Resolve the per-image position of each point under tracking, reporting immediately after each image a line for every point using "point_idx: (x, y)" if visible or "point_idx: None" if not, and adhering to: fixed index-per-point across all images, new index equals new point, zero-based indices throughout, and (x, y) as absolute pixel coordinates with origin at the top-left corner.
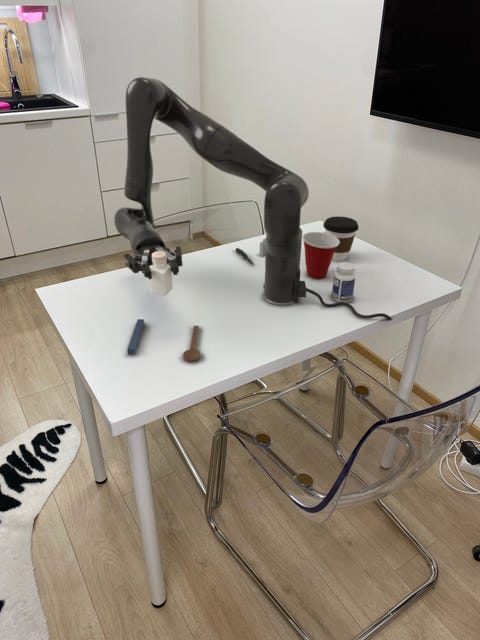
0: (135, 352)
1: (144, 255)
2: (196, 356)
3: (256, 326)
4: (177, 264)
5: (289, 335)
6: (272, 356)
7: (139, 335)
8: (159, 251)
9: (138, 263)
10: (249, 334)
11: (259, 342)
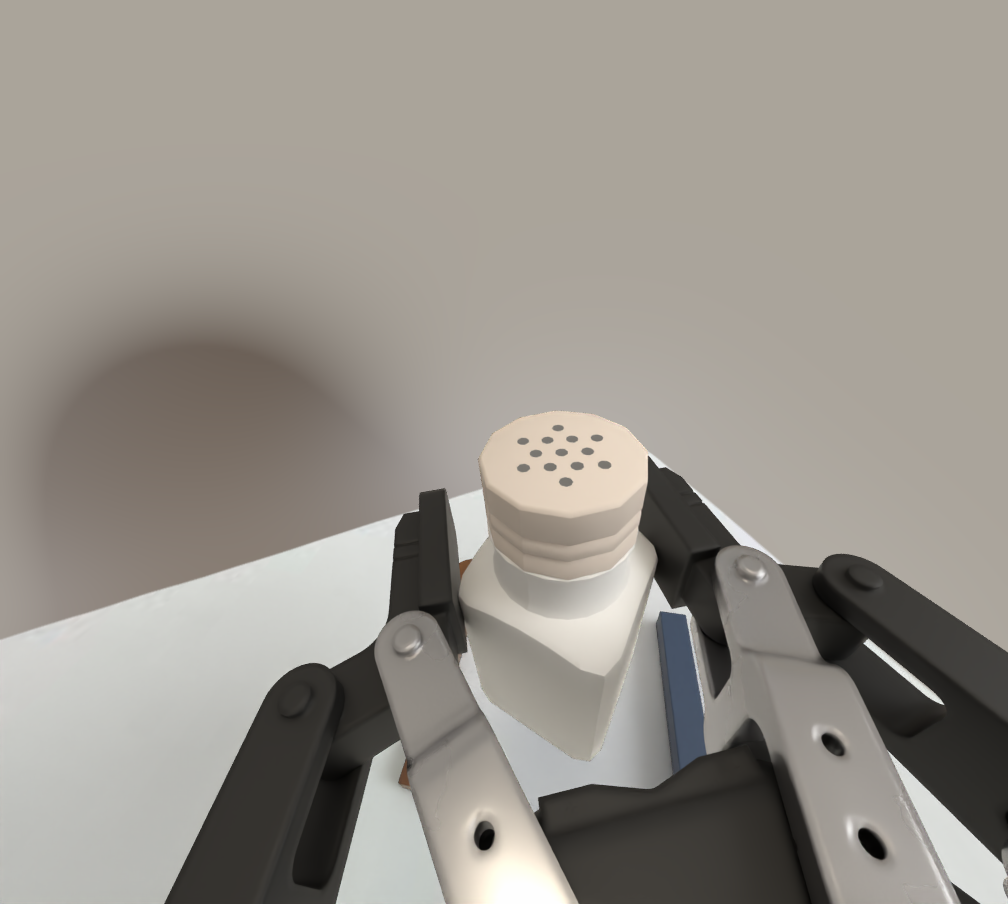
0: (657, 634)
1: (837, 720)
2: (460, 568)
3: (163, 757)
4: (396, 553)
5: (123, 662)
6: (264, 566)
7: (672, 729)
8: (560, 507)
9: (824, 618)
10: (236, 693)
11: (244, 635)
